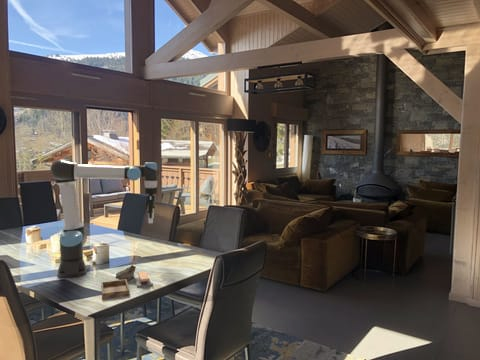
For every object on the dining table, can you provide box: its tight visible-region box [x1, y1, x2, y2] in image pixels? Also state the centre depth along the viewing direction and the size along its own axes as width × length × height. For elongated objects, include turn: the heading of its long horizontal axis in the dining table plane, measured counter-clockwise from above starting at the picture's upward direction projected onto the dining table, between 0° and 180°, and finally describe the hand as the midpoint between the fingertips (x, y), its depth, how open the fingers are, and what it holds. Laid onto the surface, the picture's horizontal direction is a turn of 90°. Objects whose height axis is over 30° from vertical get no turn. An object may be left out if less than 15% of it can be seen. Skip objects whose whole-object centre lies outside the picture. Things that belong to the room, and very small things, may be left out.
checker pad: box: [137, 271, 149, 282], centre depth 201 cm, size 4×11×1 cm, turn 22°
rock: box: [115, 264, 136, 281], centre depth 205 cm, size 11×6×10 cm
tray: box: [100, 279, 130, 300], centre depth 189 cm, size 13×16×3 cm
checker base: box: [134, 274, 154, 289], centre depth 201 cm, size 8×12×3 cm, turn 22°
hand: (151, 220), depth 236 cm, fingers open, 13 cm apart
